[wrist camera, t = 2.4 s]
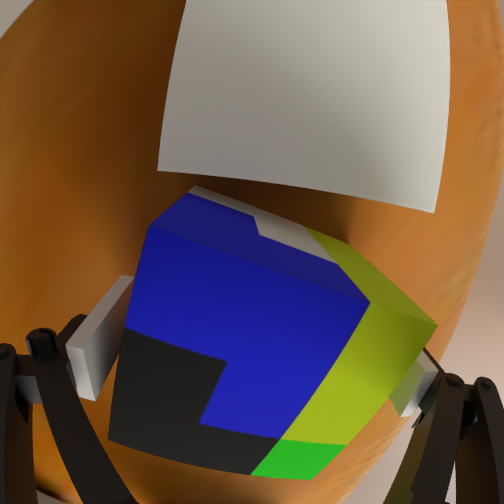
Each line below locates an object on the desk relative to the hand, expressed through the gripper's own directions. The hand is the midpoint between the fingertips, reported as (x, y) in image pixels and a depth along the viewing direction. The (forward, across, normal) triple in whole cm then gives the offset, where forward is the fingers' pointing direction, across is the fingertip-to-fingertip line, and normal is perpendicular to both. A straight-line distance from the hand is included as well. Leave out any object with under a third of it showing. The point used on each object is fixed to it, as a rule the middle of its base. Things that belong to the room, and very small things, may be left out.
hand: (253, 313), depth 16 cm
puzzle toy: (+4, 0, 0) cm, 4 cm away
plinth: (+3, +2, +14) cm, 14 cm away
